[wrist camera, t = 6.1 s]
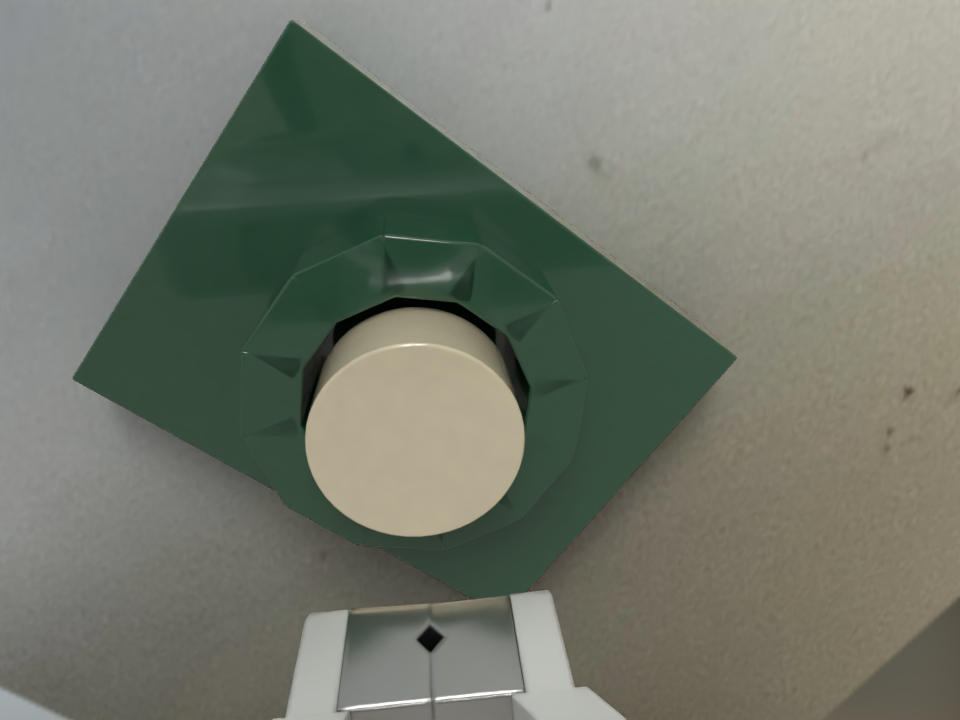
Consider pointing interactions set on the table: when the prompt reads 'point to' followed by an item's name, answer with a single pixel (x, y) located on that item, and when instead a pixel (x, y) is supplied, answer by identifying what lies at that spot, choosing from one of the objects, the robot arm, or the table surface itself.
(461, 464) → the cream short cylinder
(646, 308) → the green peg board
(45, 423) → the table surface
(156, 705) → the table surface
